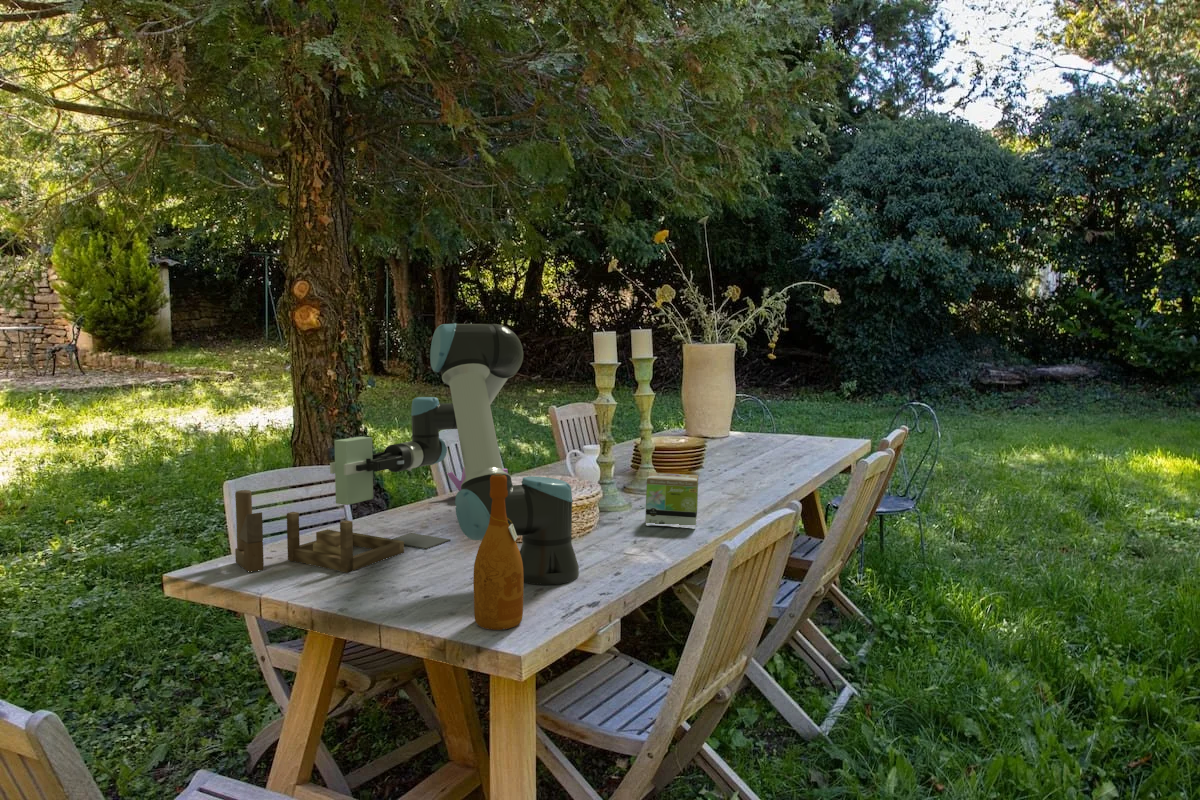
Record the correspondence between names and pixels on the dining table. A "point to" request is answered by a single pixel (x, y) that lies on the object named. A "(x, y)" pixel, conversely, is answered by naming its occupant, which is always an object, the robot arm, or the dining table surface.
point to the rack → (348, 539)
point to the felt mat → (420, 540)
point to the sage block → (359, 483)
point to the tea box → (671, 499)
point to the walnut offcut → (328, 537)
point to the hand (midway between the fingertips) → (338, 469)
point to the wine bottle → (498, 567)
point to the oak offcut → (327, 549)
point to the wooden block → (248, 533)
